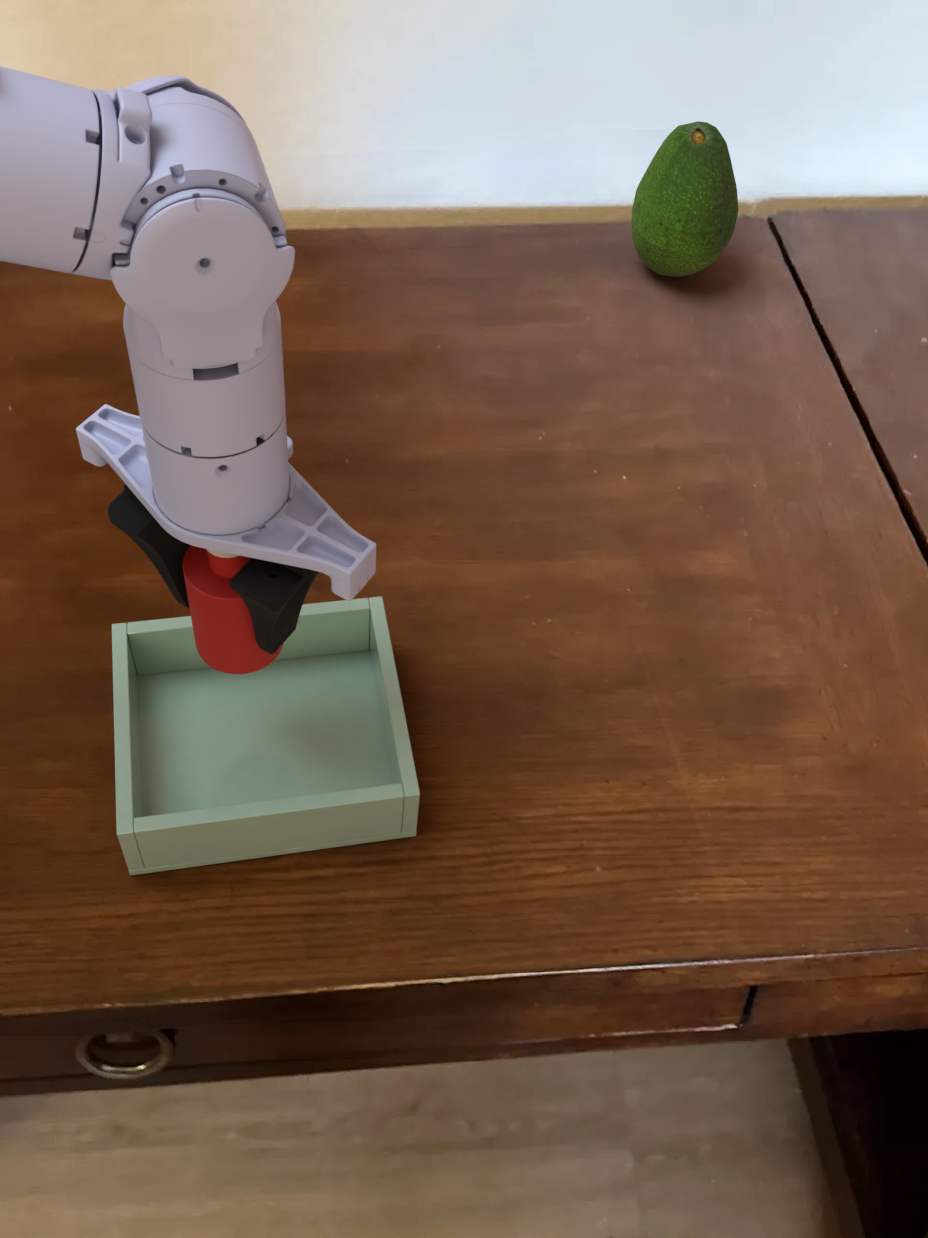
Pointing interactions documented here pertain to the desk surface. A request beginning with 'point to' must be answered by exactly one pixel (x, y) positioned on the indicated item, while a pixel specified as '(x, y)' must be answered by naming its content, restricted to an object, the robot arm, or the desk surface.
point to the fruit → (685, 202)
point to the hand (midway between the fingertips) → (237, 615)
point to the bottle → (221, 613)
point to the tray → (260, 743)
